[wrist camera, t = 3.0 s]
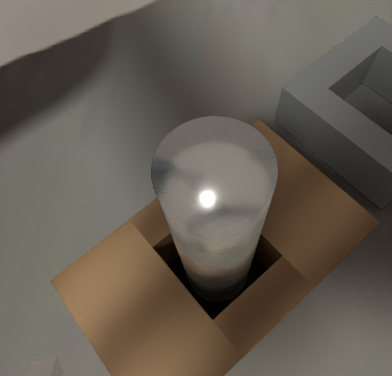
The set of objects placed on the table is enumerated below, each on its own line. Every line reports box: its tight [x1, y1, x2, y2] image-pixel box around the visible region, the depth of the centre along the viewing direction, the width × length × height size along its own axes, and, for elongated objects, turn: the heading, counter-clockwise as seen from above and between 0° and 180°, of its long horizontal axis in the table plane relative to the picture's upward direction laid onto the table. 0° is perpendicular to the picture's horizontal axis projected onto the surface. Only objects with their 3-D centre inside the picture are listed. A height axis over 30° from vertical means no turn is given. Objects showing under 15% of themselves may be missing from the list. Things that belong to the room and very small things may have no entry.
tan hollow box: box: [50, 119, 381, 376], centre depth 28 cm, size 12×20×6 cm, turn 130°
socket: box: [275, 16, 392, 210], centre depth 34 cm, size 13×13×5 cm
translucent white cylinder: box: [151, 116, 278, 302], centre depth 22 cm, size 5×5×18 cm
